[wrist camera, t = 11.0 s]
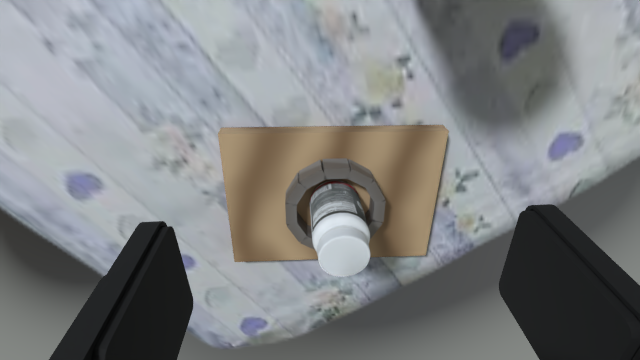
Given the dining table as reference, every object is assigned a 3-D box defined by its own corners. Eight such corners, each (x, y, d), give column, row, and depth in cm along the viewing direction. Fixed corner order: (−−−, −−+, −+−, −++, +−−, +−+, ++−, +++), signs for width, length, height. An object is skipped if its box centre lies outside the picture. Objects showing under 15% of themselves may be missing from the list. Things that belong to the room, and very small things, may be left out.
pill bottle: (356, 220, 36) (372, 281, 29) (308, 220, 36) (312, 282, 29) (361, 178, 34) (379, 232, 27) (310, 178, 34) (315, 232, 27)
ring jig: (442, 124, 34) (457, 139, 31) (421, 246, 40) (431, 268, 37) (221, 127, 33) (213, 143, 30) (236, 252, 39) (231, 275, 36)
